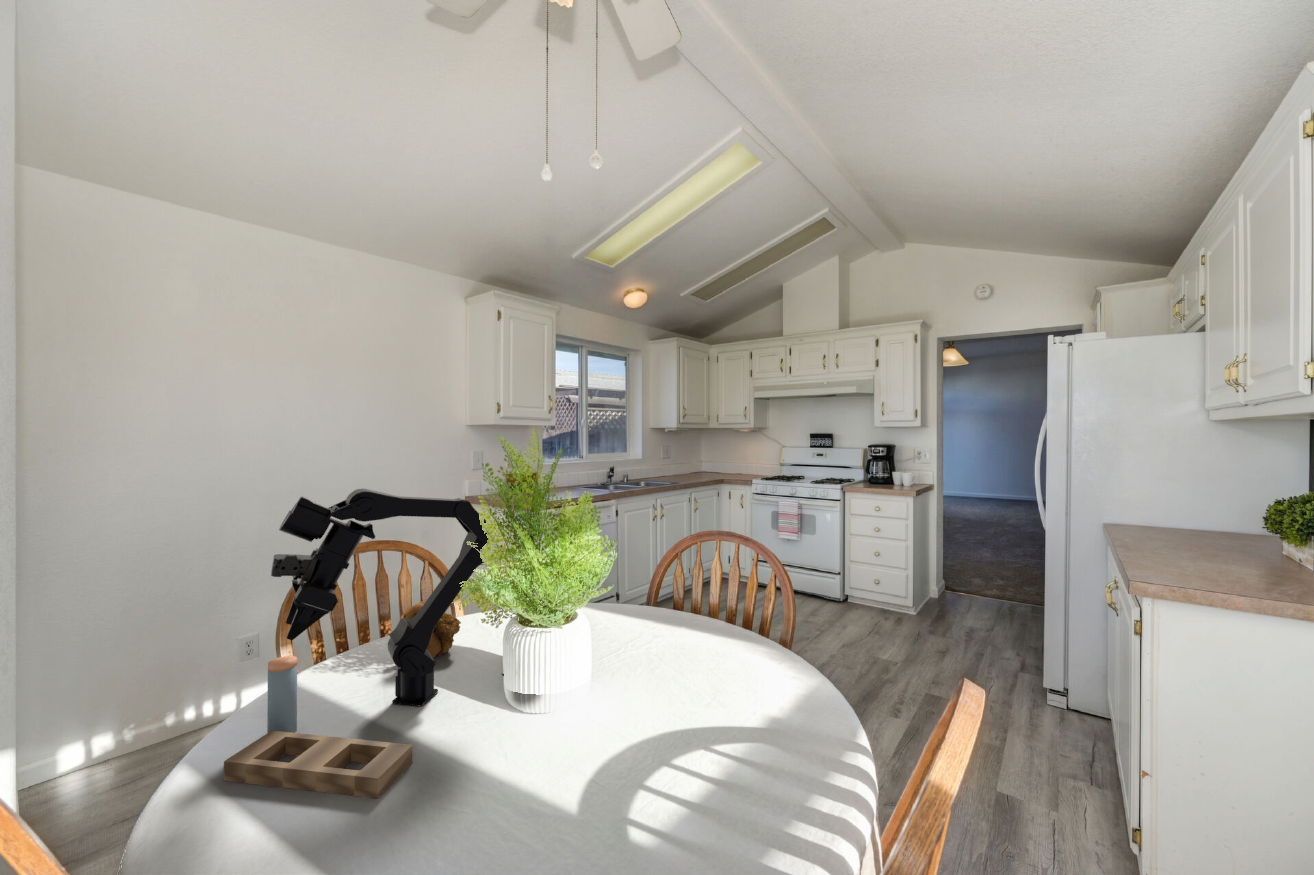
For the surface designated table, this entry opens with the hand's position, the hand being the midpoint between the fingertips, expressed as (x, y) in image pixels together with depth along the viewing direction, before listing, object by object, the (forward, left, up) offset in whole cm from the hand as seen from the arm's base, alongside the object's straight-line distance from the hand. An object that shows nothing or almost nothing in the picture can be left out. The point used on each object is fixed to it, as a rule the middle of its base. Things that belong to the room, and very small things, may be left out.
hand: (288, 631), depth 101 cm
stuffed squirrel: (-7, -35, -18) cm, 40 cm away
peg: (0, +1, -18) cm, 18 cm away
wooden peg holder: (-15, +10, -18) cm, 26 cm away
